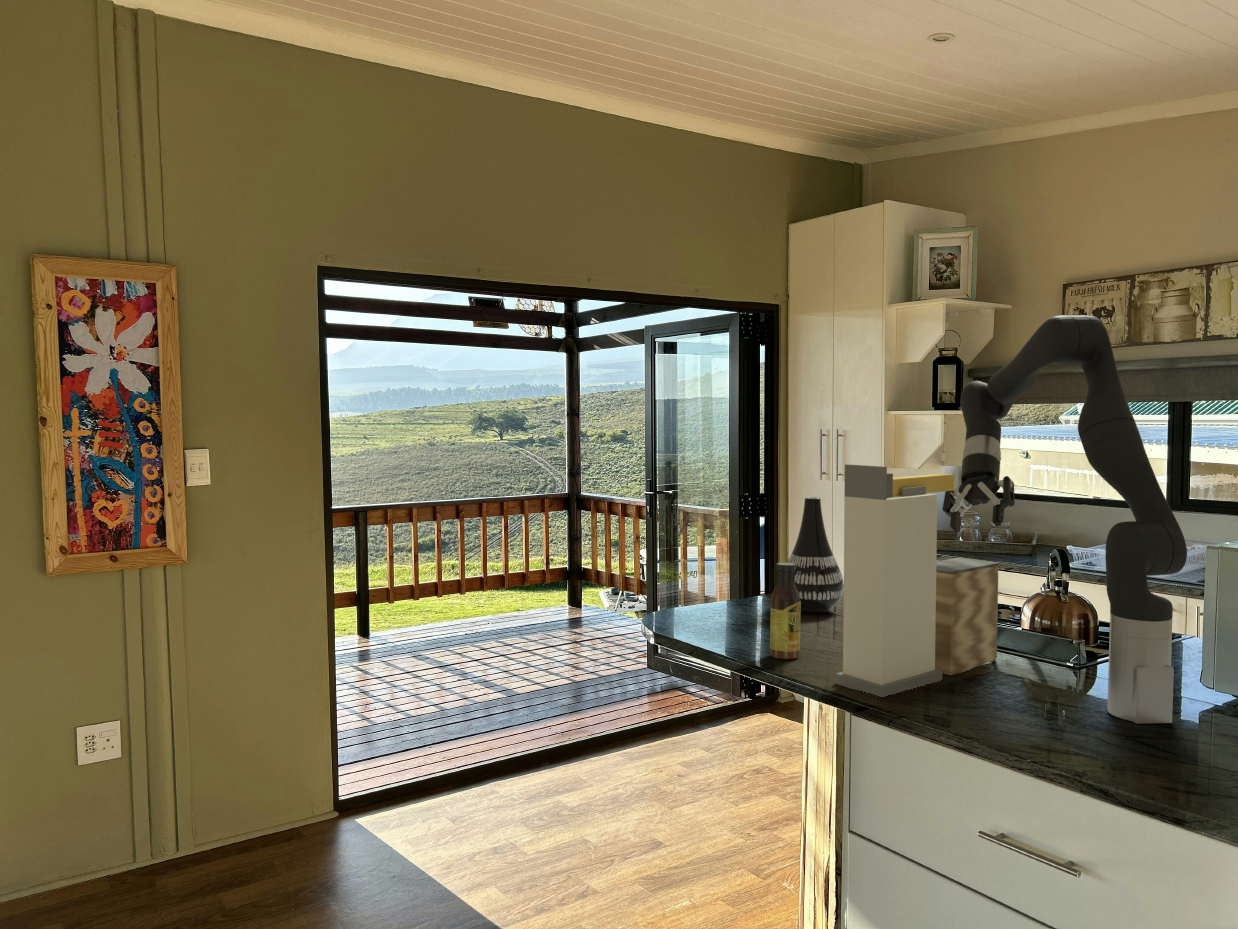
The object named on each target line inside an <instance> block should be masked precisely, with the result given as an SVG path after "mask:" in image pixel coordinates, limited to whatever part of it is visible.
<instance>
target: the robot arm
mask: <svg viewBox="0 0 1238 929" xmlns="http://www.w3.org/2000/svg"><path fill="white" fill-rule="evenodd" d="M1104 324H1105V323H1103V321H1102V320H1101V319H1099V318H1098V317H1097V316H1094V315H1087V314H1086V315H1085V314H1081V315H1080V314H1079V315H1071V314H1070V315H1055V316H1052V317H1050V318H1048V319H1047V320H1045V321H1044V322H1043V323H1042V324H1041V325H1040V326H1039V327H1038V328H1037V329H1036V330H1035V332H1034V333H1033V334H1032V335H1031V337H1030V338H1029V339H1028V341H1026V343H1025V344H1024V345H1023V347H1022V348H1021V349H1020V350H1019V352H1018V353H1017V354H1016V355H1015V356H1014V357H1013V359H1012V360H1010V361H1009V362H1008V363H1006V365H1004V366H1003V367H1001V368H1000V369H999V370H997V372H995V373H994V374H993V375H992V376H991V377H990V378H989V380H988V382H987V383H986V382H983V381H979V380H973V381H970V382H968V383H967V384H966V385H965V386H964V388H963V389H962V391H961V395H960V409H961V413H962V417H963V421H964V424H965V428H966V429H965V430H966V431H965V441H964V442H965V443H964V448H963V452H962V461H961V472H960V486H959V487H957V488H954V491H944V498H943V503H942V504H943V505H942V511H943V512H944V513H945V515H947V516H948V517H949V518H950V523H949V526H950V528H951V529H952V530H953V531H954V532H955V533H960V532H961V527H962V516H963V514H964V513H965V512H966V511H969V510H970V509H971V507H972V506H979V505H981V504H982V505H984V504H988V502H990V501H991V502H992V503H993V504H994V506H993V507H992V519H991V520H992V524H993V525H995V527H1001V526H1002V525H1001V524H1002V523H1004V516H1005V510H1006V509H1007V508H1008V507H1014V506H1015V504H1016V503H1015V483H1014V482H1013V480H1012V479H1011V477H1010V476H1008V475H1006V476H1004V477H1002V478H1003V479H1000V471H1001V461H1002V451H1001V439H1002V425H1001V423H1000V422H999V420H1002V419H1003V418H1005V417H1006V416H1007V415H1009V414H1008V413H1009V412H1010V410H1011V408H1012V407H1013V405H1014V404H1015V402H1016V401H1017V400H1018V399H1019V398H1020V397H1022V396H1024V395H1025V394H1026V393H1027V392H1029V391H1030V390H1032V388H1034V386H1035V385H1036V383H1037V382H1038V380H1039V377H1040V370H1041V369H1042V368H1044V367H1047V366H1049V365H1053V364H1056V365H1063V366H1064V365H1079V366H1080V368H1082V372H1084V376H1085V379H1086V383H1087V394H1086V397H1085V400H1084V403H1083V405H1082V408H1081V410H1080V414H1079V418H1078V423H1077V433H1078V436H1079V439H1080V441H1081V445H1082V448H1083V450H1084V451H1083V452H1084V454H1085V457H1086V458H1087V461H1088V463H1089V465H1090V466H1091V468H1093V470H1094V471H1095V472H1096V473H1097V474H1098V475H1099V476H1100V477H1101V478H1102V479H1103V480H1104V481H1105V482H1106V483H1107V484H1108V485H1109V486H1111V488H1112V489H1114V490H1115V491H1116V492H1117V493H1118V494H1119V495H1120V496H1121V498H1123V499H1124V501H1125V502H1126V505H1128V506H1129V509H1130V511H1131V513H1132V515H1133V517H1134V520H1132V521H1131V520H1130V521H1121V522H1117V523H1115V524H1114V525H1113V526H1112V527H1111V528H1110V529H1109V531H1108V534H1107V536H1106V541H1105V576H1106V577H1105V578H1106V580H1105V582H1106V584H1105V586H1106V594H1107V598H1108V601H1109V612H1110V614H1109V638H1108V641H1109V644H1108V645H1109V647H1108V677H1107V712H1108V713H1109V714H1110V715H1111V716H1113V717H1116V718H1118V719H1119V718H1120V719H1122V720H1125V721H1130V722H1133V723H1135V724H1136V725H1137V724H1172V723H1173V704H1174V703H1173V701H1174V676H1175V675H1174V671H1175V669H1174V667H1173V666H1172V647H1173V646H1172V643H1173V642H1172V641H1173V640H1172V639H1173V616H1174V615H1173V614H1174V611H1173V610H1174V609H1173V608H1174V607H1173V606H1174V605H1173V603H1172V602H1171V600H1169V599H1168V598H1165V597H1163V596H1159V595H1157V594H1154V593H1153V592H1152V591H1150V589H1149V586H1148V577H1149V576H1168V575H1175V574H1177V573H1179V572H1180V571H1182V570H1183V569H1184V567H1185V565H1186V562H1187V559H1188V549H1187V543H1186V540H1185V537H1184V536H1185V535H1184V532H1183V531H1182V529H1181V527H1180V525H1179V522H1178V521H1177V518H1176V516H1175V514H1174V513H1173V511H1172V508H1171V506H1170V505H1169V502H1168V501H1167V499H1166V497H1165V495H1164V493H1163V491H1162V488H1161V486H1160V484H1159V482H1158V479H1157V477H1156V474H1155V472H1154V469H1153V466H1152V465H1151V463H1150V459H1149V457H1148V454H1147V452H1146V448H1145V446H1144V443H1143V439H1142V436H1141V434H1140V431H1139V428H1138V426H1137V423H1136V420H1135V418H1134V416H1133V414H1132V412H1131V411H1132V410H1131V409H1130V406H1129V403H1128V399H1127V397H1126V394H1125V391H1124V387H1123V384H1122V382H1121V380H1120V376H1119V372H1118V368H1117V363H1116V360H1115V355H1114V351H1113V348H1112V347H1113V346H1112V342H1111V340H1110V336H1109V333H1108V330H1107V328H1106V325H1104ZM1000 489H1002V491H1003V492H1002V499H999V497H997V496H996V494H997V492H998V491H999V490H1000ZM964 501H966V502H964Z"/></svg>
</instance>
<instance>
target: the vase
mask: <svg viewBox="0 0 1238 929" xmlns="http://www.w3.org/2000/svg"><path fill="white" fill-rule="evenodd" d="M821 501H822V500H821V497H819V496H817V497H816V496H807V497H805V498H804V501H803V502H804V504H803V512H802V517H801V523H800V528H799V532H798V536H797V538H796V542H795V544H794V546H793V547H794V548H793V549H792V552H791V554H790V556H789V558H788V560H787V562H786V563H794V564H796V571H795V586H796V589H797V592H798V595H799V598H800V601H801V610H800V614H801V613H802V614H805V615H822V614H825V612H826V611H828V610H830V609H833V608H834V607H836V605H838V603H840V602H839V601H840V600H841V599H842V597H843V596H844V576H843V574H842V572H841V569H840V566H839V563H837V560H836V558H835V556H834V553H833V551H832V549H831V546H830V545H831V544H830V543H829V540H828V537H827V534H826V533H827V532H826V529H825V528H826V527H825V524H824V518H823V512H822V504H821V503H822V502H821Z"/></svg>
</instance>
